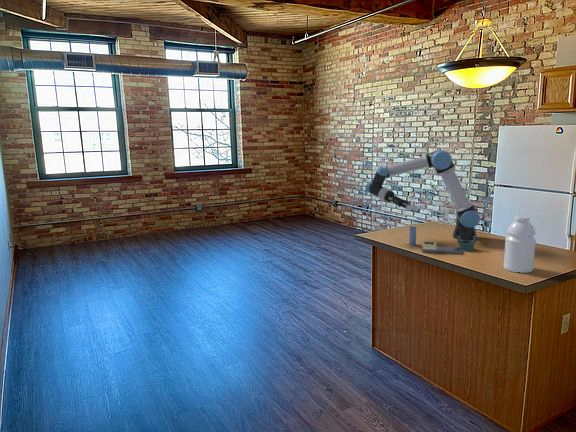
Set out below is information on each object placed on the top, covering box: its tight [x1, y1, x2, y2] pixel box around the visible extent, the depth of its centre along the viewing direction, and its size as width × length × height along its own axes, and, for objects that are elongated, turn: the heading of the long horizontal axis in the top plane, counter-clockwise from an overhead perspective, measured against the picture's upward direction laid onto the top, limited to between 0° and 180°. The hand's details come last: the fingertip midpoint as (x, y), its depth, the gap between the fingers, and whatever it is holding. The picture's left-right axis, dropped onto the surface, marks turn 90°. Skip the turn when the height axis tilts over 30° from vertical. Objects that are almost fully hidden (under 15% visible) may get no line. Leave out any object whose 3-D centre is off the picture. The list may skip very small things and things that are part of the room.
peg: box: [408, 225, 417, 247], centre depth 273 cm, size 4×4×12 cm
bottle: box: [503, 215, 537, 274], centre depth 219 cm, size 14×14×28 cm
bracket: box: [456, 236, 477, 252], centre depth 260 cm, size 9×9×9 cm
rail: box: [421, 240, 462, 255], centre depth 257 cm, size 22×8×5 cm, turn 73°
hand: (414, 209), depth 269 cm, fingers open, 13 cm apart
